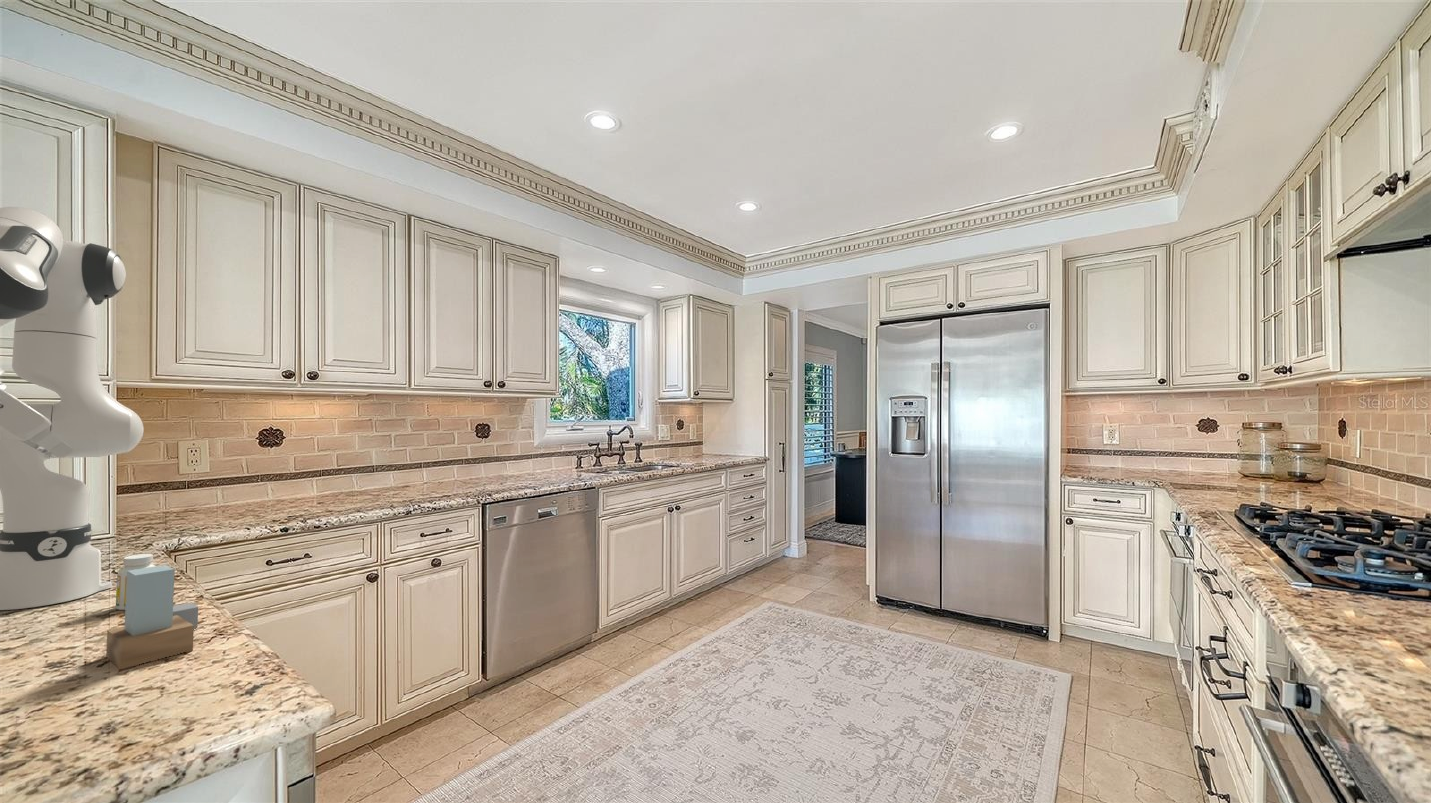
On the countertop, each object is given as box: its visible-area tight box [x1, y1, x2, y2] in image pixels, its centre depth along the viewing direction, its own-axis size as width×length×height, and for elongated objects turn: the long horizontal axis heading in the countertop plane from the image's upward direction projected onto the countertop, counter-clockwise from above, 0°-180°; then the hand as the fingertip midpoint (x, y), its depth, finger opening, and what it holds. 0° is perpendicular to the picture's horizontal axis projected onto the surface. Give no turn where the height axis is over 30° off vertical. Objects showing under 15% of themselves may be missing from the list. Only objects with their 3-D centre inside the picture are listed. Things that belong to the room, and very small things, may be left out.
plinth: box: [105, 615, 195, 670], centre depth 87 cm, size 8×8×4 cm
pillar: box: [123, 564, 176, 636], centre depth 87 cm, size 4×4×9 cm
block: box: [173, 602, 199, 629], centre depth 97 cm, size 4×4×4 cm
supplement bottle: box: [115, 553, 156, 611], centre depth 109 cm, size 5×5×10 cm
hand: (60, 452), depth 84 cm, fingers open, 8 cm apart
